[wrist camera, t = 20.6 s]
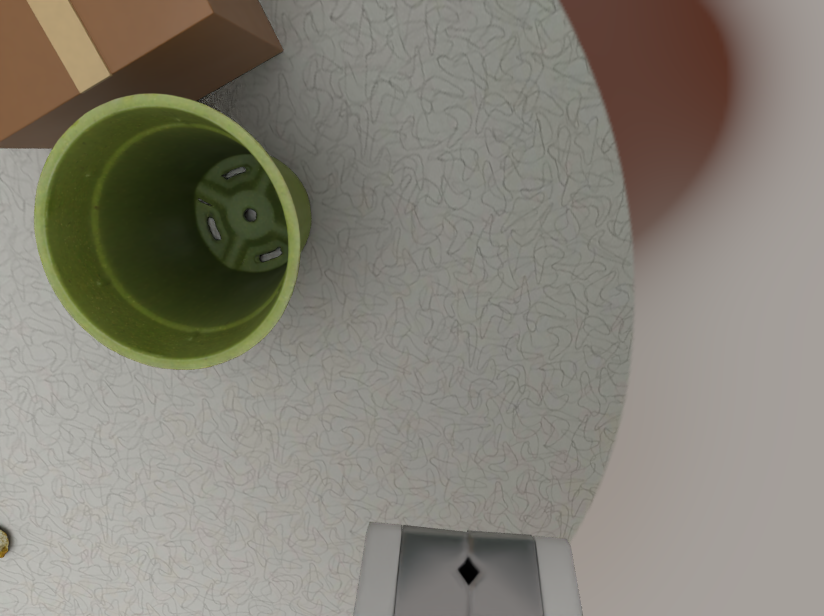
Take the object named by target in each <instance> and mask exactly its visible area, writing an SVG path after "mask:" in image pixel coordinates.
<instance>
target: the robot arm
mask: <svg viewBox="0 0 824 616" xmlns="http://www.w3.org/2000/svg"><path fill="white" fill-rule="evenodd" d="M353 616H583V613H582V607H581V602H580V596H579V590H578V584H577V579H576V573H575V567H574V562H573V556H572V551H571V545H570V544H569V542H568V540H567V539H565V538H554V537H540V536H532V535H526V534H511V533H496V532H482V531H467V532H463V531H454V530H444V529H435V528H426V527H417V526H408V525H403V526H402V525H399V524H388V523H377V522H370V523H369V526H368V529H367V532H366V538H365V544H364V551H363V557H362V564H361V570H360V576H359V583H358V589H357V595H356V602H355V608H354V614H353Z"/></svg>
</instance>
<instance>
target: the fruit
mask: <svg viewBox="0 0 824 616" xmlns="http://www.w3.org/2000/svg"><path fill="white" fill-rule="evenodd" d="M8 544H9V541H8V538H7V534H6V533H5V532H3V531H2V530H0V558H3V557H4V556H5V554H6V553H7V552H8Z"/></svg>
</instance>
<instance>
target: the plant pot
mask: <svg viewBox="0 0 824 616" xmlns="http://www.w3.org/2000/svg"><path fill="white" fill-rule="evenodd" d="M239 167H244V168H245V169H246V172H244V173H240V174H238V175H235V176H233V177H231V178H229V179H228V180H226V179H225V178H224V176H223V177H221V176H222V175H225V174H227V173H228V172H229V171H231V170H233V169H235V168H239ZM198 198H200V199H202V200H203V201H205V202H207V203H209V204H211V205H212V206H209V205H206V204H204V203H202V202H200V201H199V200H198ZM247 209H252V210H254V211H255V212H256V219H255V220H254V221H248V220H247V219H246V218H245V211H246V210H247ZM208 217H211V218H213V219H214V221H215V224H216V227H217V229H218V231H219V233H220V236H221V240H215V239H214V237H213V236H212V234H211V232H210V230H209V227H208V223H207V218H208ZM310 228H311V209H310V203H309V199H308V195H307V193H306V190H305V188H304V187H303V185H302V183H301V182H300V180H299V179H298V177H297V176H296V175H295V174H294V173H293V172H292V171H291V170H290V169H289V168H288V167H287V166H286V165H285V164H283V163H282V162H280V161H279V160H277V159H276V158H274V157H272V156H270V155H269V154H268V153H267V152H266V151H265V149H264V148H263V147H262V146H261V145H260V144H259V143H258V141H257V140H256V139H255V138H254V137H253V136H252V135H251V134H250V133H248V132H247V131H246V130H245V129H244V128H242V127H241V126H240V125H239V124H238V123H236V122H235V121H233V120H232V119H230V118H229V117H227V116H226V115H224V114H223V113H221V112H219V111H217V110H215V109H213V108H211V107H209V106H207V105H205V104H202V103H199V102H197V101H194V100H191V99H187V98H183V97H179V96H174V95H167V94H155V93H149V94H136V95H130V96H125V97H121V98H117V99H114V100H111V101H109V102H106V103H104V104H102V105H99V106H97V107H96V108H94V109H92V110H90V111H89V112H87V113H85V114H84V115H83V116H82V117H80V118H79V119H78V120H77V121H76V122H75V123H74V124H73V125H72V126H71V127H69V128H68V129H67V131H66V132H65V133H64V134H63V135H62V136H61V137H60V139H59V140H58V141H57V143H56V144H55V146H54V147H53V149H52V151H51V152H50V154H49V156H48V158H47V160H46V163H45V165H44V167H43V170H42V173H41V175H40V178H39V182H38V186H37V191H36V198H35V210H34V229H35V237H36V243H37V248H38V252H39V255H40V258H41V261H42V265H43V268H44V270H45V273H46V276H47V278H48V281H49V283H50V285H51V286H52V288H53V290H54V292H55V294H56V295H57V297H58V299H59V300H60V302H61V303H62V305H63V306H64V308H65V309H66V310H67V311H68V313H69V314H70V315H71V316H72V317H73V318H74V320H75V321H76V322H77V323H78V324H79V325H80V326H81V327H82V328H83V329H84V330H86V331H87V332H88V333H89V334H90V335H91V336H93V337H94V338H95V339H96V340H97V341H99V342H100V343H101V344H103V345H104V346H106V347H107V348H109V349H110V350H113V351H115V352H117V353H118V354H120V355H122V356H124V357H127V358H129V359H131V360H134V361H137V362H139V363H142V364H145V365H149V366H152V367H157V368H164V369H176V370H193V369H201V368H207V367H211V366H214V365H218V364H221V363H224V362H227V361H229V360H231V359H234V358H236V357H238V356H240V355H242V354H243V353H245V352H246V351H248V350H249V349H251V348H252V347H253V346H255V345H256V344H257V343H259V342H260V341H261V340H262V339H263V338H264V337H265V336H266V335H267V334H268V333H269V332H270V331H271V330H272V329H273V327H274V326H275V325H276V323H277V322H278V321H279V319H280V318H281V316H282V314H283V313H284V311H285V309H286V307H287V305H288V302H289V300H290V298H291V296H292V293H293V290H294V287H295V284H296V280H297V276H298V271H299V264H300V253H301V251H302V250H303V248H304V246H305V244H306V242H307V239H308V236H309V233H310ZM278 247H280V248H281V251H282V254H281V255H280V256H278V257H276V258H273V259H270V260H269V261H265V262H261V261H260V259H259V255H261V254H266V253H269V252H272V251H274V250H276V249H277V248H278ZM243 261H244V262H243Z"/></svg>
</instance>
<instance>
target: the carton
mask: <svg viewBox="0 0 824 616" xmlns="http://www.w3.org/2000/svg"><path fill="white" fill-rule="evenodd" d="M282 51H283V48H282V46H281V44H280V42H279V40H278V38H277V36H276V34H275V32H274V31H273V29H272V27H271V25H270V23H269V21H268V19H267V17H266V15H265V13H264V11H263V9H262V7H261V5H260V3H259V1H258V0H0V148H38V149H53V147H54V146H55V144H56V143H57V141H58V140H59V139H60V137H61V136H62V135H63V134H64V133H65V132H66V131H67V129H68V128H69V127H71V126H72V125H73V124H74V123H75V122H76V121H77V120H78V119H79V118H80V117H82V116H83V115H84V114H85V113H87V112H89V111H90V110H92V109H94V108H96V107H97V106H99V105H102V104H104V103H106V102H109V101H111V100H114V99H117V98H121V97H125V96H130V95H136V94H149V93H155V94H167V95H174V96H179V97H183V98H187V99H191V100H194V101H197V100H199V99H201V98H202V97H204V96H206V95H208V94H209V93H211V92H213V91H215V90H216V89H218V88H220V87H221V86H223V85H225V84H227V83H228V82H230V81H232V80H234V79H235V78H237V77H239V76H241V75H242V74H244V73H246V72H248V71H249V70H251V69H253V68H255V67H256V66H258V65H260V64H262V63H263V62H265V61H267V60H268V59H270V58H272V57H274V56H275V55H277V54H279V53H281V52H282Z"/></svg>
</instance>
